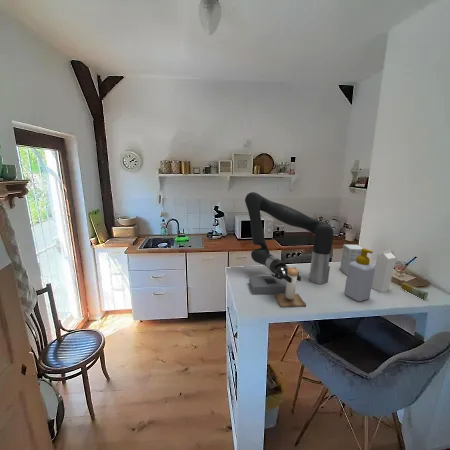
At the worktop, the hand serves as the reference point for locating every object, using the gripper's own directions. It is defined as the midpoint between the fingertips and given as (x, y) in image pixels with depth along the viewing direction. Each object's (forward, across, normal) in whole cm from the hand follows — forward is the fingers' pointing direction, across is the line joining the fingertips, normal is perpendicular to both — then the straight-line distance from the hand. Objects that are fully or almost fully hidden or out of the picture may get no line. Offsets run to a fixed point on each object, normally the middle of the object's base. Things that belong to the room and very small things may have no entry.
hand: (295, 280), depth 113 cm
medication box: (+11, +67, +13) cm, 69 cm away
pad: (-3, 0, +12) cm, 13 cm away
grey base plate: (-17, -2, +12) cm, 21 cm away
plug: (-3, 0, +10) cm, 10 cm away
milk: (+2, +55, +13) cm, 56 cm away
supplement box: (-20, +56, +13) cm, 61 cm away
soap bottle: (+4, +36, +12) cm, 38 cm away
